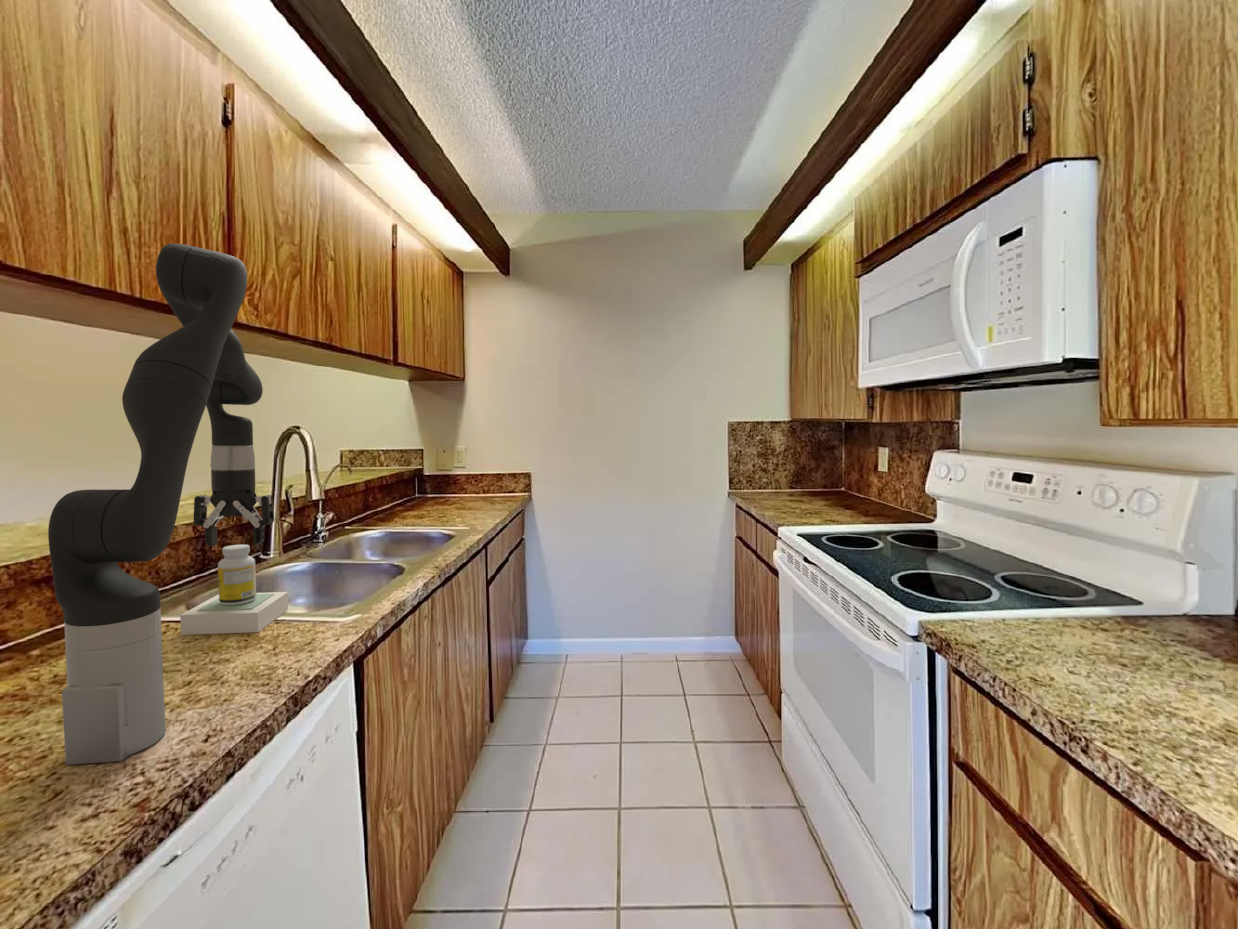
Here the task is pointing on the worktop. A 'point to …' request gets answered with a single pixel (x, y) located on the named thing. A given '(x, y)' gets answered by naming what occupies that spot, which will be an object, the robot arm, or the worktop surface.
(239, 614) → the stand
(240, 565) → the pill bottle
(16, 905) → the worktop surface
